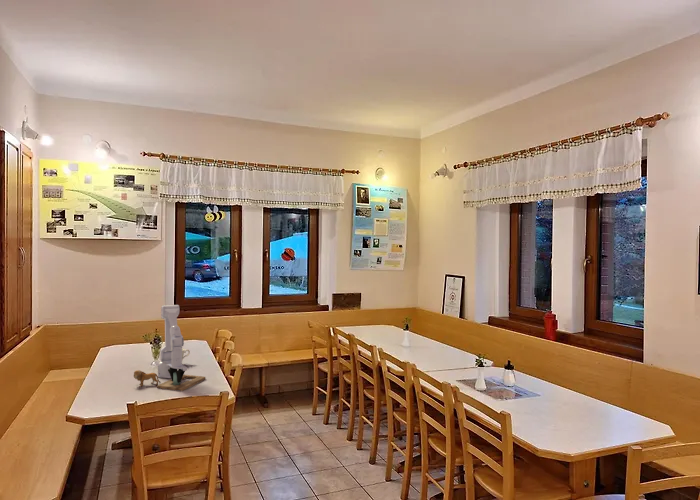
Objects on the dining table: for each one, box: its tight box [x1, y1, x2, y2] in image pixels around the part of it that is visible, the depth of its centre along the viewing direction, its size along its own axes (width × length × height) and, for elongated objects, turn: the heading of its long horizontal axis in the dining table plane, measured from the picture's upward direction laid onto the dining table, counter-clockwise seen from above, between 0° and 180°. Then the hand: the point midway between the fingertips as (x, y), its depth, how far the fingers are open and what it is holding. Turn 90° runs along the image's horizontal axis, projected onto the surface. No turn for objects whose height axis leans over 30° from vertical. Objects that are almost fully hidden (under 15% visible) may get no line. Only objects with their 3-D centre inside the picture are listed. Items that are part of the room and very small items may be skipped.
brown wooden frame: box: [156, 374, 206, 392], centre depth 285 cm, size 16×24×2 cm, turn 166°
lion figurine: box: [133, 369, 162, 387], centre depth 281 cm, size 15×5×9 cm, turn 120°
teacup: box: [171, 347, 191, 361], centre depth 326 cm, size 12×15×10 cm
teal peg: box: [173, 372, 181, 385], centre depth 279 cm, size 4×4×7 cm
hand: (176, 381), depth 279 cm, fingers closed on teal peg, 4 cm apart
